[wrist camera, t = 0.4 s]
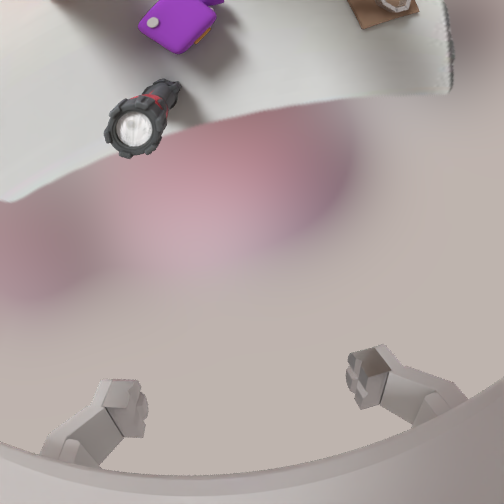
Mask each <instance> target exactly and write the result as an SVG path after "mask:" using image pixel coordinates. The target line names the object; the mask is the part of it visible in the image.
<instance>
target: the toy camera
mask: <svg viewBox="0 0 504 504" xmlns="http://www.w3.org/2000/svg"><path fill="white" fill-rule="evenodd" d="M221 3H224V0H159V1H158V2H157V3H156V4H155V5H154V6H153V7H152V8H151V9H150V10H149V11H148V12H147V14H146V15H145V16H144V17H143V18H142V19H141V21H140V22H139V24H138V29H139V30H140V31H141V32H142V33H143V34H145V35H146V36H148V37H149V38H151V39H152V40H154V41H155V42H157V43H158V44H160V45H161V46H163V47H164V48H166V49H167V50H169V51H171V52H172V53H175V54H181V53H183V52H185V51H186V50H188V49H189V48H190V47H191V45H192V44H193V43H194V44H197V43H198V42H199V41H200V40H201V39H202V38H203V37H204V36H205V35H206V34H207V33H208V32H209V31H210V30H211V28H210V26H211V25H212V24H213V23H214V21H215V20H216V13H215V12H214V9H213V8H210V7H208V6H211V5H217V4H221Z"/></svg>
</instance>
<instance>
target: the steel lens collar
mask: <svg viewBox="0 0 504 504" xmlns="http://www.w3.org/2000/svg"><path fill="white" fill-rule="evenodd" d="M374 1H375V3H376V5H378V6H379V7H381V8H383V9H385V10H387V11H388V12H392V13H397V12H401V11H404V10H408V9H409V6H410V2H411V0H400V2H399V5H398V6H395V7H394V6H392V5H391V4H389V3H387V2H386V1H385V0H374Z"/></svg>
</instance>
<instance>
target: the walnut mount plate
mask: <svg viewBox="0 0 504 504" xmlns="http://www.w3.org/2000/svg"><path fill="white" fill-rule="evenodd" d="M347 1H348V3H349V5H350V7H351V9H352V10H353V12H354V14H355V16H356V18H357V20H358V22H359V24H360V26H361V28H362V29H365V28H368V27H371V26H374V25H377V24H380V23H383V22H386V21H389V20H392V19H395V18H399V17H402V16H405V15H409V14H413V13H416V12H420V11H419V9H418V7H417V4H416V2H415V0H411V2H410V6H409V9H408V10H404V11H401V12H397V13H392V12H388V11H387V10H385V9H383V8H381V7H379V6H378V5H376V3H375V1H374V0H347ZM385 1H386V2H387V3H389V4H391V5H392V6H394V7H395V6H398V5H399V2H400V0H385Z"/></svg>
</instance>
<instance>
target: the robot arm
mask: <svg viewBox="0 0 504 504" xmlns="http://www.w3.org/2000/svg"><path fill="white" fill-rule="evenodd" d="M348 363H349V364H350V366H349V367H348V368H347V370H346V382H347V385H348V388H349V389H350V391H351V392H353V393H355V398H354V399H355V401H356V402H357V404H358V406H359V408H360V409H361V410H362V409H366V408H369V407H372V406H376V405H379V404H380V406H382V407H384V408H385V409H387V410H389V411H391V412H392V413H394V414H395V415H397V416H399V417H401V418H402V419H404V420H405V421H407V422H409V423H411V424H412V427H411V429H410V430H407V431H404V432H402V433H400V434H397V435H395V436H392V437H389V438H387V439H384V440H382V441H379V442H376V443H373V444H370V445H367V446H365V447H361V448H358V449H355V450H352V451H349V452H345V453H342V454H338V455H335V456H331V457H327V458H323V459H319V460H315V461H311V462H306V463H301V464H297V465H292V466H286V467H281V468H275V469H268V470H261V471H253V472H245V473H233V474H220V475H198V476H197V475H194V476H177V475H174V476H173V475H151V474H138V473H127V472H119V471H111V470H105V469H102V468H101V467H100V466H99V465H100V464H101V463H102V462H103V461H104V459H105V458H106V457H107V456H108V455H109V454H110V453H111V452H112V451H113V450H114V448H115V447H116V446H117V445H118V444H119V443H120V442H121V441H122V440H123V437H133V438H143V436H144V431H145V423H144V421H143V420H144V419H145V418H147V416H148V403H147V399H146V396H145V395H144V394H143V393H142V392H140V390H141V385H140V383H139V381H138V380H126V379H123V380H122V379H102V380H101V381H100V383H99V385H98V388H97V390H96V393H95V395H94V397H93V400H92V402H91V405H90V406H86V407H85V408H83V409H82V410H81V411H79V412H78V413H76V414H75V415H74V416H73V417H71V418H70V419H68V420H67V421H65V422H64V423H63V424H61V425H60V426H59V427H57V428H56V429H54V430H53V431H52V432H50V433H49V434H48V436H47V438H46V440H45V443H44V445H43V447H42V450H41V452H40V455H38V454H35V453H31V452H28V451H25V450H22V449H19V448H17V447H14V446H11V445H8V444H6V443H3V442H1V441H0V504H504V377H503V378H501V379H500V380H498V381H497V382H495V383H494V384H492V385H491V386H489V387H488V388H486V389H485V390H483V391H482V392H480V393H478V394H477V395H475V396H474V397H472V398H470V399H468V398H467V397H466V396H465V395H464V394H463V393H462V392H461V390H460V389H459V388H458V387H457V386H456V385H455V384H454V383H453V382H451V381H448V380H445V379H442V378H439V377H436V376H434V375H431V374H428V373H425V372H422V371H419V370H417V369H414V368H411V367H409V366H405V367H404V366H403V365H402V364H401V363H400V362H399V360H398V359H397V358H396V357H395V356H394V354H393V353H392V352H391V351H390V350H389V349H388V347H387V346H386V345H384V344H382V345H378V346H375V347H372V348H368V349H365V350H361V351H357V352H353V353H350V354H349V356H348Z"/></svg>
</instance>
